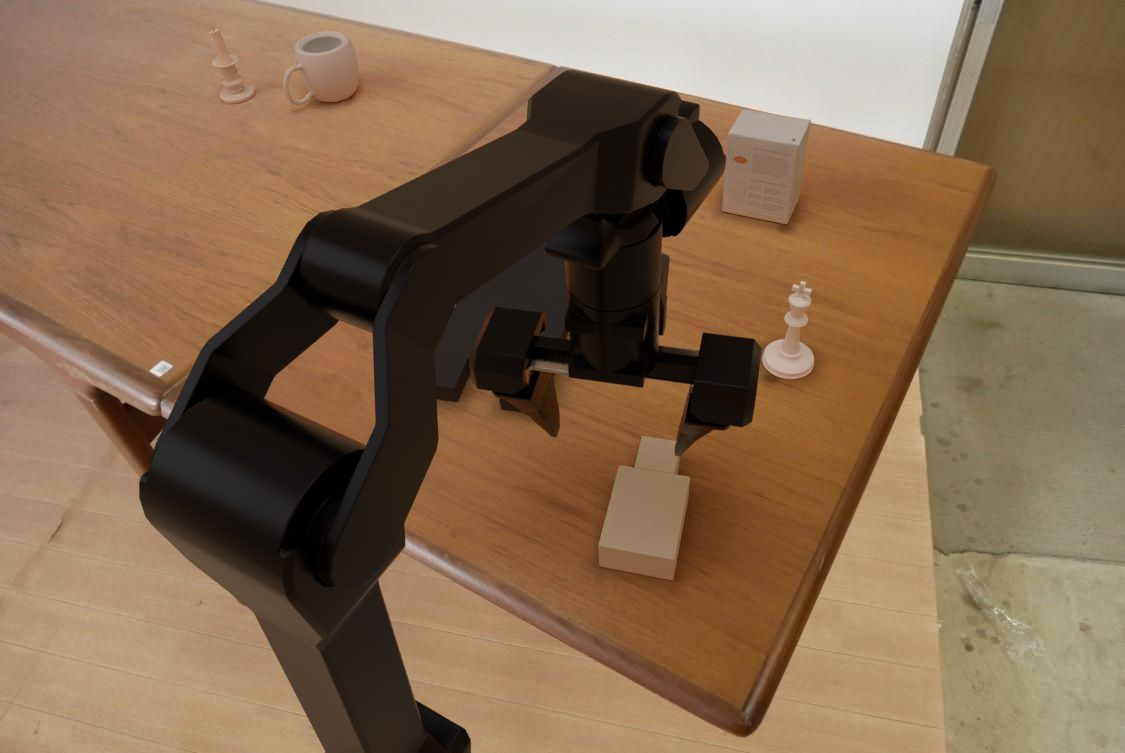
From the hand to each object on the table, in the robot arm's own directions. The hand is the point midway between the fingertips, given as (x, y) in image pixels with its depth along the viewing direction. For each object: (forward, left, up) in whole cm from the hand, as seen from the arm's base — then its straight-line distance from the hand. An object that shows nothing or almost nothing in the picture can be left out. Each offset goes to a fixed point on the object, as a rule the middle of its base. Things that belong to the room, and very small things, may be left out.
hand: (616, 441), depth 62 cm
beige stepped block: (+2, -2, -11) cm, 12 cm away
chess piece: (+22, -12, -11) cm, 28 cm away
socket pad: (+24, +16, -11) cm, 31 cm away
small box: (+47, -7, -11) cm, 49 cm away
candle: (+62, +71, -11) cm, 95 cm away
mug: (+63, +57, -11) cm, 85 cm away
